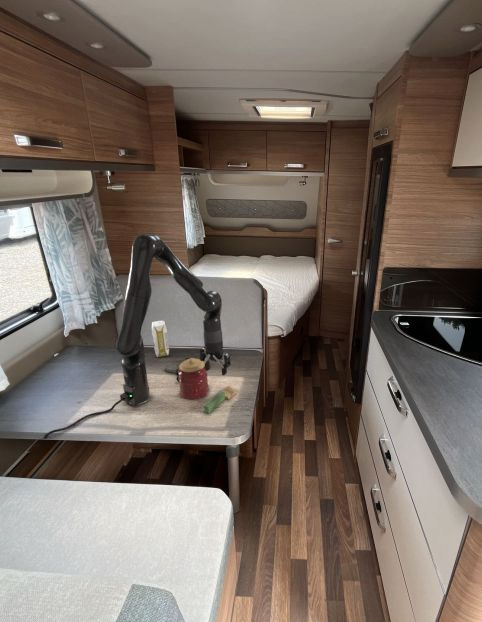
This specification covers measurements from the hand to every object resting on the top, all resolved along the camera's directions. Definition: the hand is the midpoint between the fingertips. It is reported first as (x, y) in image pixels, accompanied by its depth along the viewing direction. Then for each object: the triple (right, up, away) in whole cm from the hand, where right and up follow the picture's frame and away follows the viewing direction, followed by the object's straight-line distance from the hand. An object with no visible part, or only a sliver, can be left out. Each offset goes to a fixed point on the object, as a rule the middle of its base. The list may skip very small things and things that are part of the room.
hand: (216, 372), depth 145 cm
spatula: (+1, -14, +5) cm, 15 cm away
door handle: (-23, -5, +29) cm, 38 cm away
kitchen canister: (-13, -11, +12) cm, 21 cm away
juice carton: (-40, +2, +46) cm, 61 cm away
